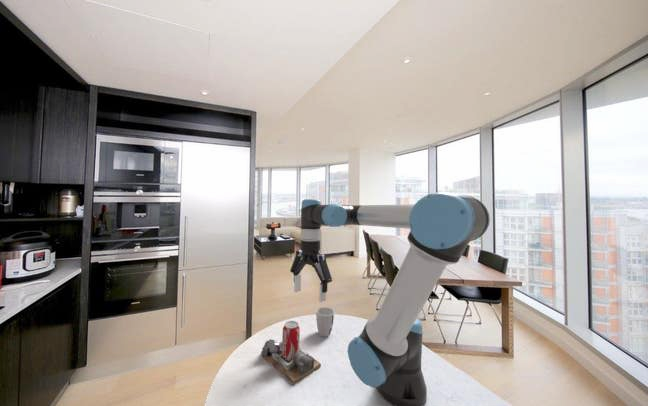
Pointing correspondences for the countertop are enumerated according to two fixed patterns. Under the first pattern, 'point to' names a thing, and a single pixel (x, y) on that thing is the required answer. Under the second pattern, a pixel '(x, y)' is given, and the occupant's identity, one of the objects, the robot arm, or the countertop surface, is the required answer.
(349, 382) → the countertop surface
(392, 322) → the robot arm
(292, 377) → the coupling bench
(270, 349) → the shaft
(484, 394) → the countertop surface
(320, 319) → the cup
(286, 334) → the beverage can
